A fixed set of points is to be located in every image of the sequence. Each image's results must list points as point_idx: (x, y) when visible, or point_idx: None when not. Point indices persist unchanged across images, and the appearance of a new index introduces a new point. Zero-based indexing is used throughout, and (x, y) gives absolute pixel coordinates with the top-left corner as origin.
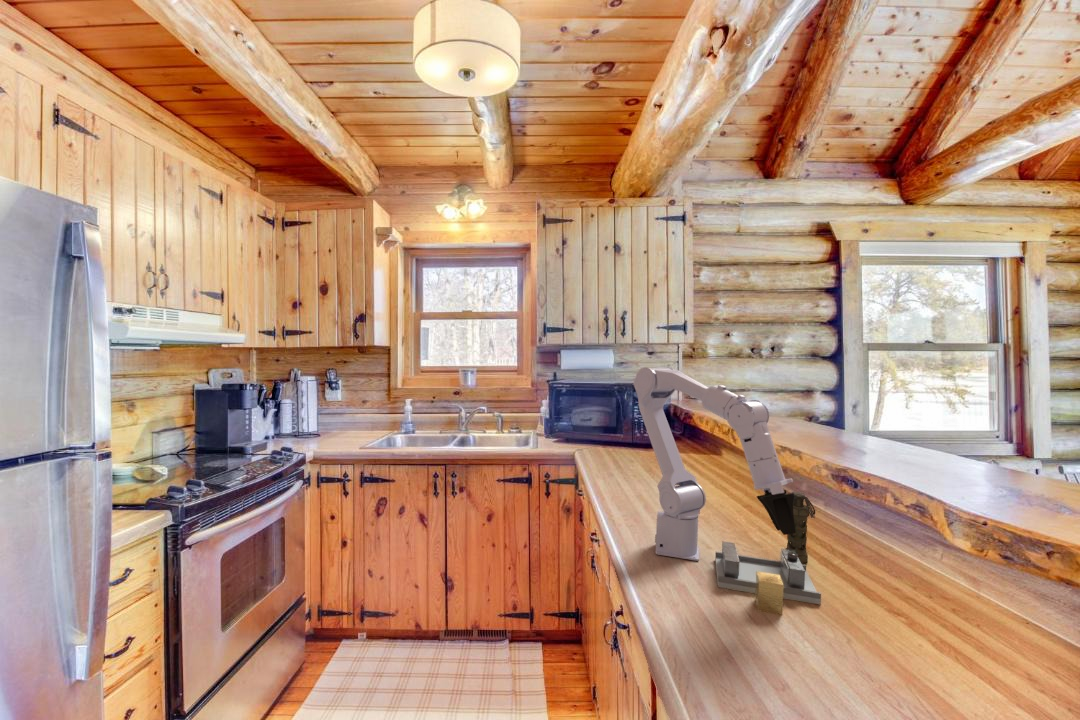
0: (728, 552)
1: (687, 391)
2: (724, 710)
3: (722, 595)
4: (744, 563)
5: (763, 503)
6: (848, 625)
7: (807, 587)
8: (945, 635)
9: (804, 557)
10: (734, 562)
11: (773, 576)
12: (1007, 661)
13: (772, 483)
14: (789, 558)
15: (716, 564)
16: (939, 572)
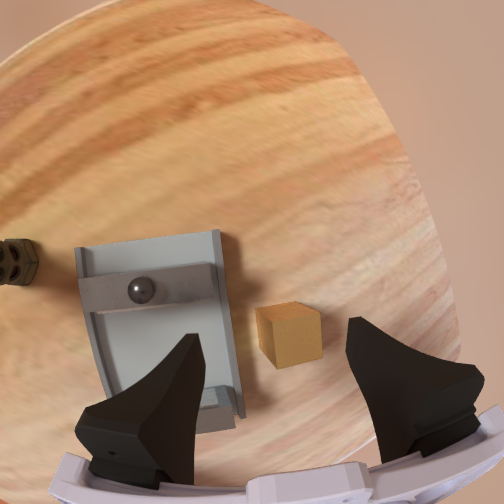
0: None
1: None
2: (458, 332)
3: (271, 396)
4: (120, 376)
5: (193, 465)
6: (276, 194)
7: (173, 252)
8: (234, 67)
9: (26, 245)
10: (231, 411)
11: (287, 334)
12: (269, 36)
13: (499, 460)
14: (151, 298)
15: None
16: (23, 49)
